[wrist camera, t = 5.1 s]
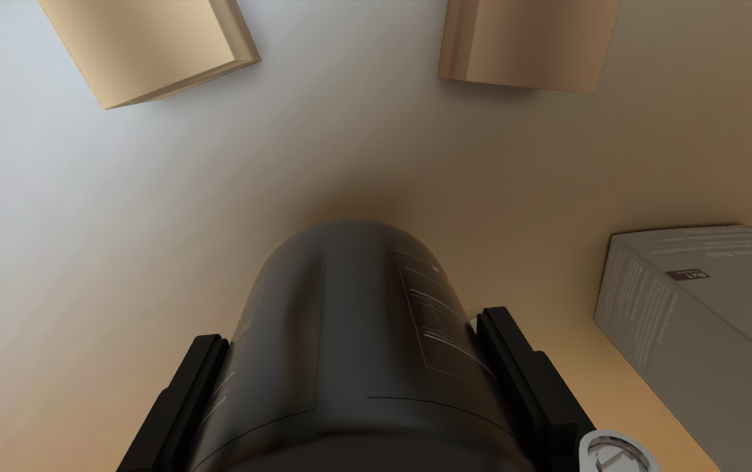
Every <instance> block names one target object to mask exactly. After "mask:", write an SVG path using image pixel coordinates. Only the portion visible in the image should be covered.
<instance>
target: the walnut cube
mask: <svg viewBox="0 0 752 472" xmlns="http://www.w3.org/2000/svg"><path fill="white" fill-rule="evenodd" d="M621 2H622V0H448V5H447V12H446V18H445V25H444V32H443V39H442V46H441V52H440V59H439V66H438V73H437V77H443V78H449V79H456V80H463V81H471V82H480V83H490V84H499V85H508V86H518V87H527V88H536V89H546V90H555V91H565V92H574V93H583V94H593V95H594V94H595V90H596V87H597V84H598V80H599V77H600V73H601V70H602V66H603V63H604V60H605V56H606V53H607V49H608V46H609V43H610V39H611V36H612V32H613V29H614V25H615V22H616V19H617V15H618V12H619V8H620V5H621Z"/></svg>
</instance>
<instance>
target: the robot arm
mask: <svg viewBox="0 0 752 472" xmlns="http://www.w3.org/2000/svg"><path fill="white" fill-rule="evenodd" d="M476 335H477V337H478V339H479V341H480V343H481V345H482V347H483V349H484V351H485V353H486V355H487V357H488V359H489V361H490V363H491V365H492V367H493V369H494V371H495V373H496V375H497V377H498V379H499V381H500V383H501V385H502V387H503V389H504V391H505V393H506V395H507V397H508V399H509V401H510V403H511V405H512V407H513V409H514V411H515V413H516V415H517V417H518V419H519V421H520V423H521V425H522V427H523V429H524V431H525V433H526V435H527V437H528V439H529V441H530V443H531V445H532V447H533V449H534V451H535V453H536V455H537V457H538V459H539V461H540V463H541V465H542V467H543V470H544V472H661V470H660V468H659V465H658V463H657V461H656V459H655V458H654V457H653V455H652V454H651V453H650V452H649V450H647V449H646V448H645V447H644V446H643V445H641V444H640V443H639V442H638V441H636V440H634V439H632V438H630V437H629V436H627V435H624V434H621V433H618V432H616V431H610V430H597V429H596V428H595V426H594V425H593V423H592V422H591V421H590V419H589V418H588V416H587V415H586V413H585V412H584V410H583V409H582V407H581V406H580V404H579V403H578V401H577V400H576V398H575V397H574V395H573V394H572V392H571V391H570V389H569V388H568V386H567V385H566V383H565V382H564V380H563V379H562V377H561V376H560V374H559V373H558V371H557V370H556V368H555V367H554V365H553V364H552V363H551V361H550V360H549V358H548V357H547V355H546V354H545V353H544V352H542V351H533V349H532V348H531V346H530V345H529V343H528V341H527V340H526V338H525V337H524V335H523V334H522V332H521V330H520V329H519V327H518V326H517V324H516V323H515V321H514V320H513V318H512V316H511V315H510V313H509V312H508V310H507V309H506V307H504V306H503V307H492V308H485V309H484V310H483V314H478V315H477V325H476ZM228 348H229V342H228V340H227V339H222V338H221V336H220V335H219V334H211V335H201V336H197V337H196V338H195V339H194V341H193V343H192V345H191V346H190V348H189V350H188V352H187V354H186V355H185V357H184V359H183V361H182V363H181V365H180V366H179V368H178V370H177V372H176V374H175V375H174V377H173V379H172V381H171V383H170V385H169V386H168V388H166V389H164V390H163V391H162V392H161V393H160V395H159V396H158V398H157V400H156V401H155V403H154V405H153V407H152V408H151V410H150V412H149V414H148V416H147V417H146V419H145V421H144V423H143V424H142V426H141V428H140V430H139V432H138V433H137V435H136V437H135V439H134V440H133V442H132V444H131V446H130V447H129V449H128V451H127V453H126V455H125V456H124V458H123V460H122V462H121V463H120V465H119V467H118V469H117V470H116V472H181V469H182V467H183V464H184V462H185V459H186V456H187V454H188V451H189V449H190V446H191V444H192V441H193V438H194V436H195V433H196V431H197V428H198V426H199V423H200V420H201V418H202V415H203V413H204V410H205V408H206V405H207V402H208V400H209V397H210V395H211V392H212V390H213V387H214V384H215V382H216V379H217V377H218V374H219V372H220V369H221V366H222V364H223V361H224V359H225V356H226V354H227V351H228Z"/></svg>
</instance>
